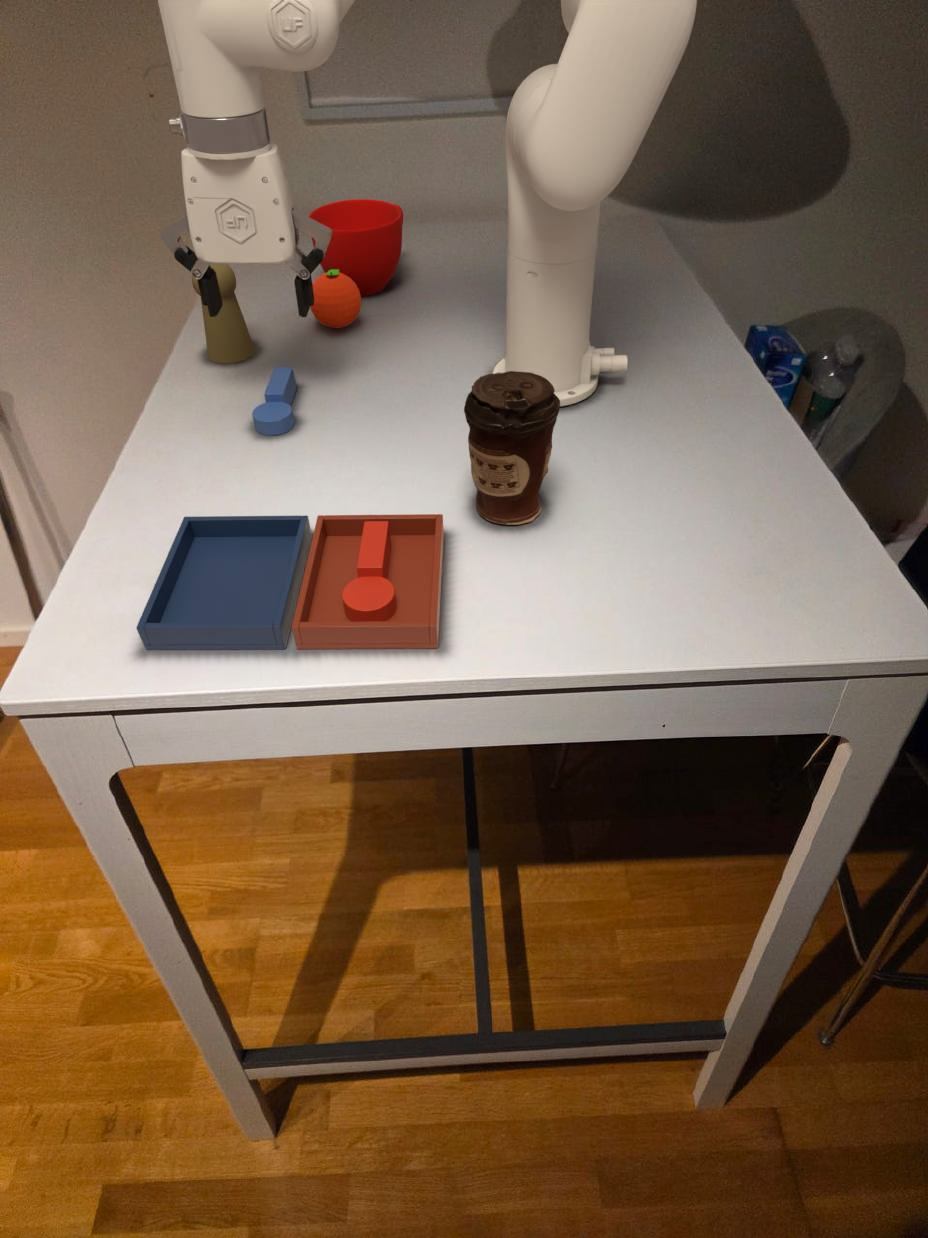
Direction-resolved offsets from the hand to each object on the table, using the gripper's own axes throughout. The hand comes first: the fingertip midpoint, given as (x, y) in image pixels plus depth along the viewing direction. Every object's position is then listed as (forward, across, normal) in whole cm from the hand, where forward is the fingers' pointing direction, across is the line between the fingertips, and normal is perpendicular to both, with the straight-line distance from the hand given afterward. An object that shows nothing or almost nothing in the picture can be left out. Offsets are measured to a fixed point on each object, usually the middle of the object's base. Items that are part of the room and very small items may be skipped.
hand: (260, 311), depth 86 cm
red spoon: (+10, +15, -33) cm, 37 cm away
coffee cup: (+10, +27, -21) cm, 36 cm away
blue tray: (+11, +2, -33) cm, 35 cm away
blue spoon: (+11, +1, -2) cm, 11 cm away
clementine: (+11, +5, +21) cm, 24 cm away
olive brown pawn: (+11, -8, +13) cm, 19 cm away
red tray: (+10, +15, -33) cm, 37 cm away
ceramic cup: (+11, +8, +35) cm, 37 cm away
